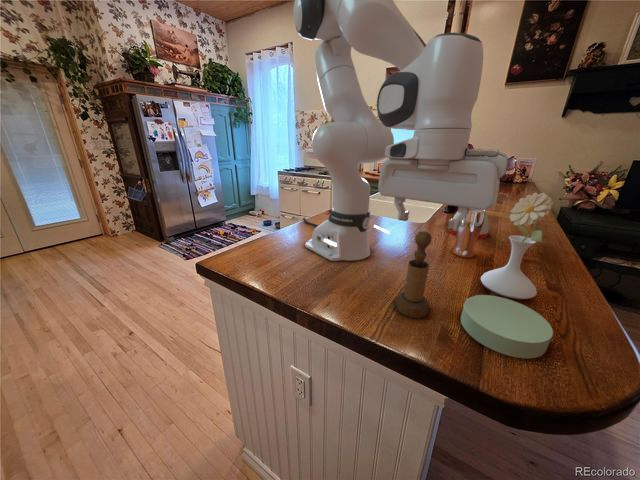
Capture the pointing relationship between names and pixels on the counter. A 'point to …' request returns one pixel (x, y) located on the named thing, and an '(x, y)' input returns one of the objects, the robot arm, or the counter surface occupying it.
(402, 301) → the mortar and pestle
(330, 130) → the robot arm
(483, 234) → the kitchen timer
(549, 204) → the flower in vase
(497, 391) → the counter surface
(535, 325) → the disc
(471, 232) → the beer glass
